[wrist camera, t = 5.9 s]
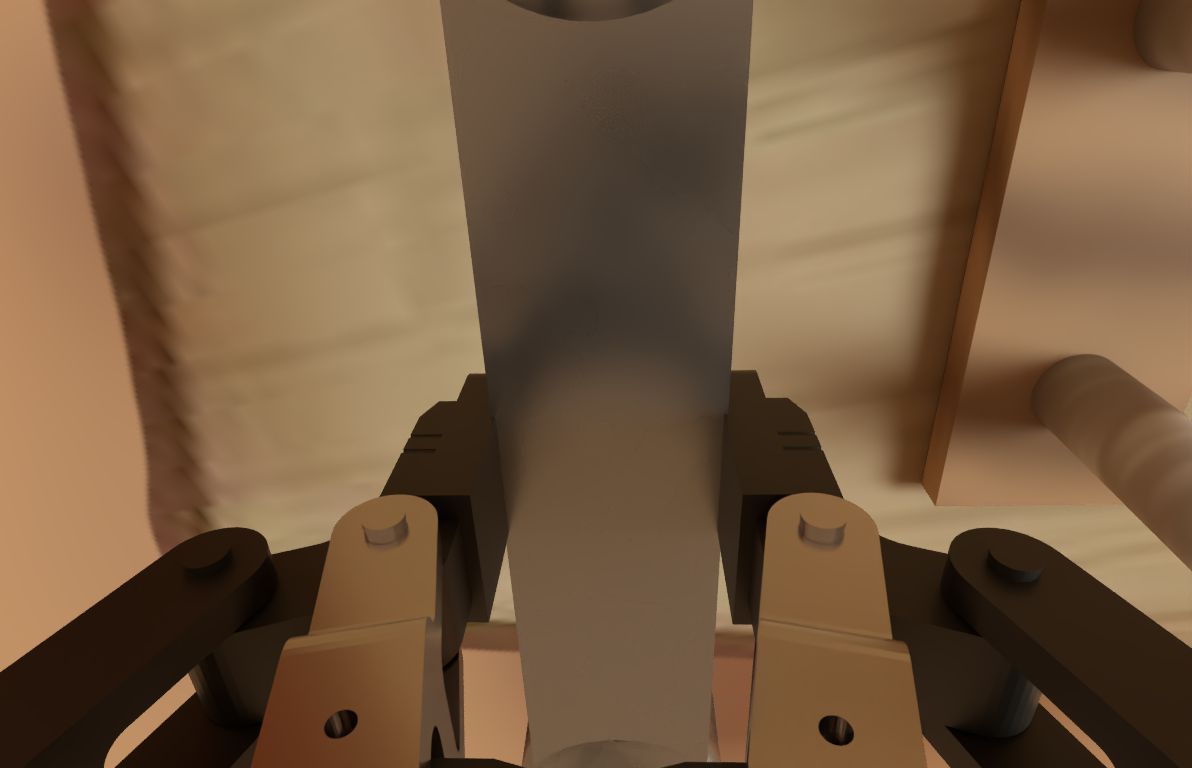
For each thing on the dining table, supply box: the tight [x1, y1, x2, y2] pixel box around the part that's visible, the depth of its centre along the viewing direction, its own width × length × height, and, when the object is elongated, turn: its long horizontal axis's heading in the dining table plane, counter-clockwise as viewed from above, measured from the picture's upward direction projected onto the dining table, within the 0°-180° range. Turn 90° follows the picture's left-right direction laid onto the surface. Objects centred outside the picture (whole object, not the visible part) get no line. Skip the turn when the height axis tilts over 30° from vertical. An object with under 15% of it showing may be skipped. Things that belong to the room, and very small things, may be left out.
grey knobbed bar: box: [440, 0, 753, 768], centre depth 12 cm, size 21×4×2 cm, turn 2°
